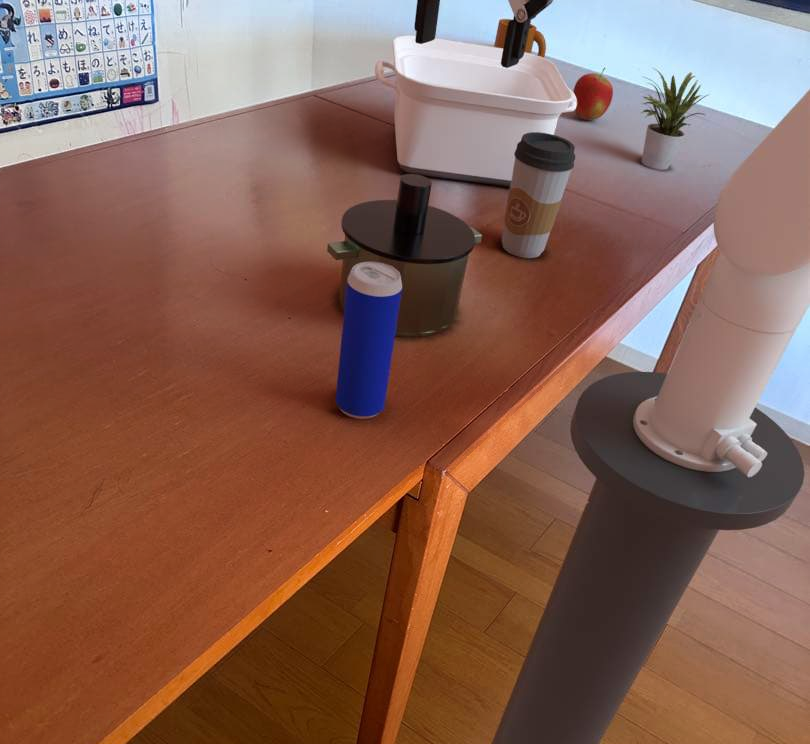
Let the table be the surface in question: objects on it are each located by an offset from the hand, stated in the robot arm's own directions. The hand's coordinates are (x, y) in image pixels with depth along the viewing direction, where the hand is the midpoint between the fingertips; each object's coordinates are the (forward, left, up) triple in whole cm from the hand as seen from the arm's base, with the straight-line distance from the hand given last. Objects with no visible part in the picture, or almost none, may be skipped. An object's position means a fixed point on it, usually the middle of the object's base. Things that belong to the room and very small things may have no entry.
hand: (466, 53), depth 83 cm
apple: (+61, -77, -29) cm, 103 cm away
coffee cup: (+12, -24, -29) cm, 40 cm away
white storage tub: (+45, -35, -29) cm, 64 cm away
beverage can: (-16, +17, -29) cm, 37 cm away
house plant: (+38, -75, -29) cm, 89 cm away
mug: (+94, -82, -29) cm, 128 cm away
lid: (+2, +3, -19) cm, 20 cm away
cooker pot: (+2, +3, -29) cm, 29 cm away
